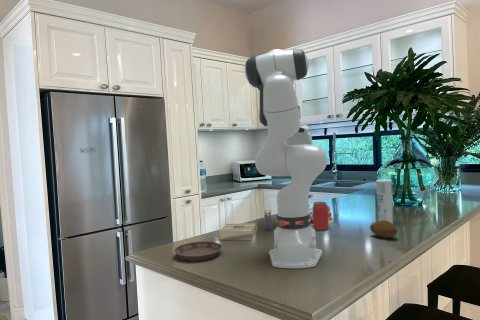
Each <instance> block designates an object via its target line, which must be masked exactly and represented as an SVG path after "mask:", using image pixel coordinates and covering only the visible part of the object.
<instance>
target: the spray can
mask: <svg viewBox="0 0 480 320" xmlns="http://www.w3.org/2000/svg"><path fill="white" fill-rule="evenodd" d="M375 183H376V184H375V185H376V186H375V187H376V189H375V190H376V202H377V207H376V208H377V219H378V220H377V222H379V221H382V220H386V221H389V222H391V223H392V224H393V225H394V214H393V212H394V211H393V190H392V189H393V187H392V179H376V180H375Z"/></svg>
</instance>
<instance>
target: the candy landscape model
mask: <svg viewBox="0 0 480 320" xmlns="http://www.w3.org/2000/svg"><path fill="white" fill-rule="evenodd" d="M327 207H328V223H329V225H331V224H333V222H334V219H333V217H332V215H333V213H332V212H331V208H330V206H329V205H328V204H327ZM308 208H309V214H310V218H311V224H310V226H311V227H314V222H313V205H312V206H311V205H310V204H309V203H308Z"/></svg>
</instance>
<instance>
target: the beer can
mask: <svg viewBox="0 0 480 320" xmlns="http://www.w3.org/2000/svg"><path fill="white" fill-rule="evenodd" d="M327 205H328V204H327V202H326V201H315V202H313V205H312V207H313V222H314V226H313V229H314V230H315V231H327V230H328V229H329V228H330V227H329V225H330V224H329V223H328V207H327Z"/></svg>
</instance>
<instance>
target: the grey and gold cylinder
mask: <svg viewBox="0 0 480 320" xmlns="http://www.w3.org/2000/svg"><path fill="white" fill-rule="evenodd" d="M271 212H272V210H270V209H266V210H264V212H263V214H264V227H265V228H264V230H265V231H266V232H270V231H272V229H273V227H272V215H271V214H272V213H271Z"/></svg>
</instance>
